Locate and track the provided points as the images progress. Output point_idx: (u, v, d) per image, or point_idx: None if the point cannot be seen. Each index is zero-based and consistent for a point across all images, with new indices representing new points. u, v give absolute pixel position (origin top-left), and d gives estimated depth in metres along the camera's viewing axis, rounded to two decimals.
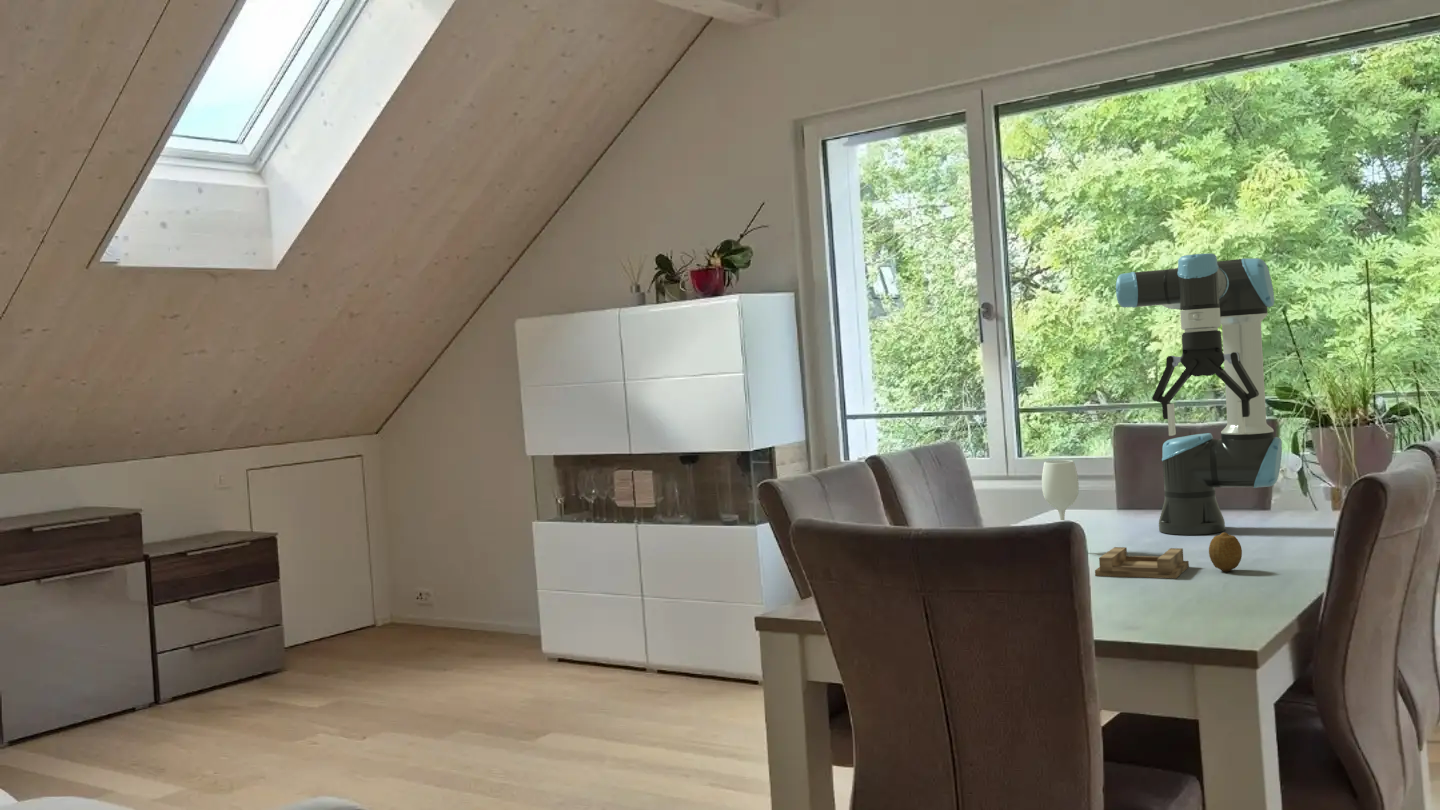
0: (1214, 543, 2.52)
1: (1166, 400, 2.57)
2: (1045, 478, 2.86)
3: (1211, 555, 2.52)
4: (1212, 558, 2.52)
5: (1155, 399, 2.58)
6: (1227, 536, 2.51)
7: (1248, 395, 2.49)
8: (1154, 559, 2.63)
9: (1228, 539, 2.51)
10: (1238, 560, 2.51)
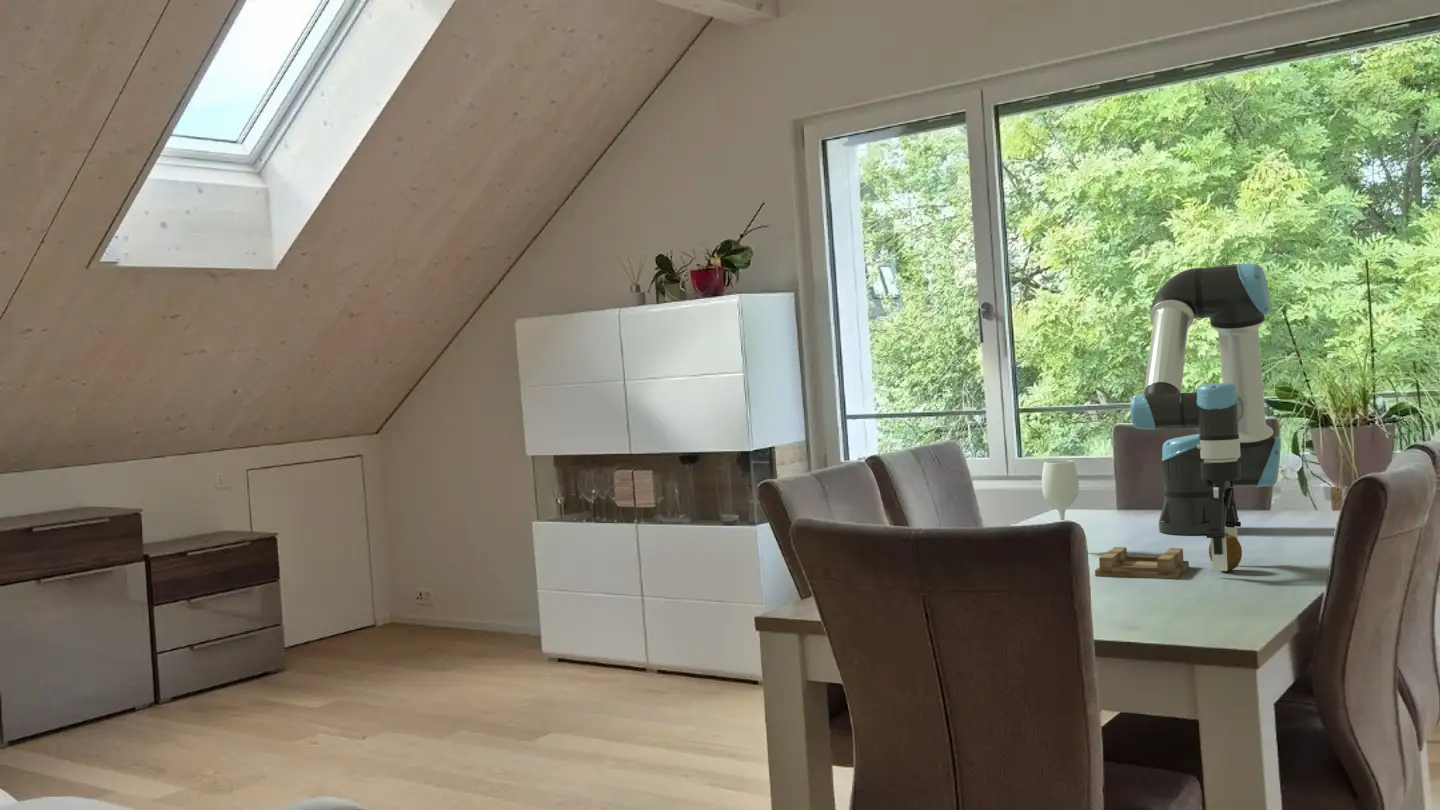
0: None
1: None
2: (1045, 478, 2.86)
3: (1211, 555, 2.52)
4: None
5: None
6: (1227, 536, 2.51)
7: None
8: (1154, 559, 2.63)
9: (1228, 539, 2.51)
10: (1238, 560, 2.51)
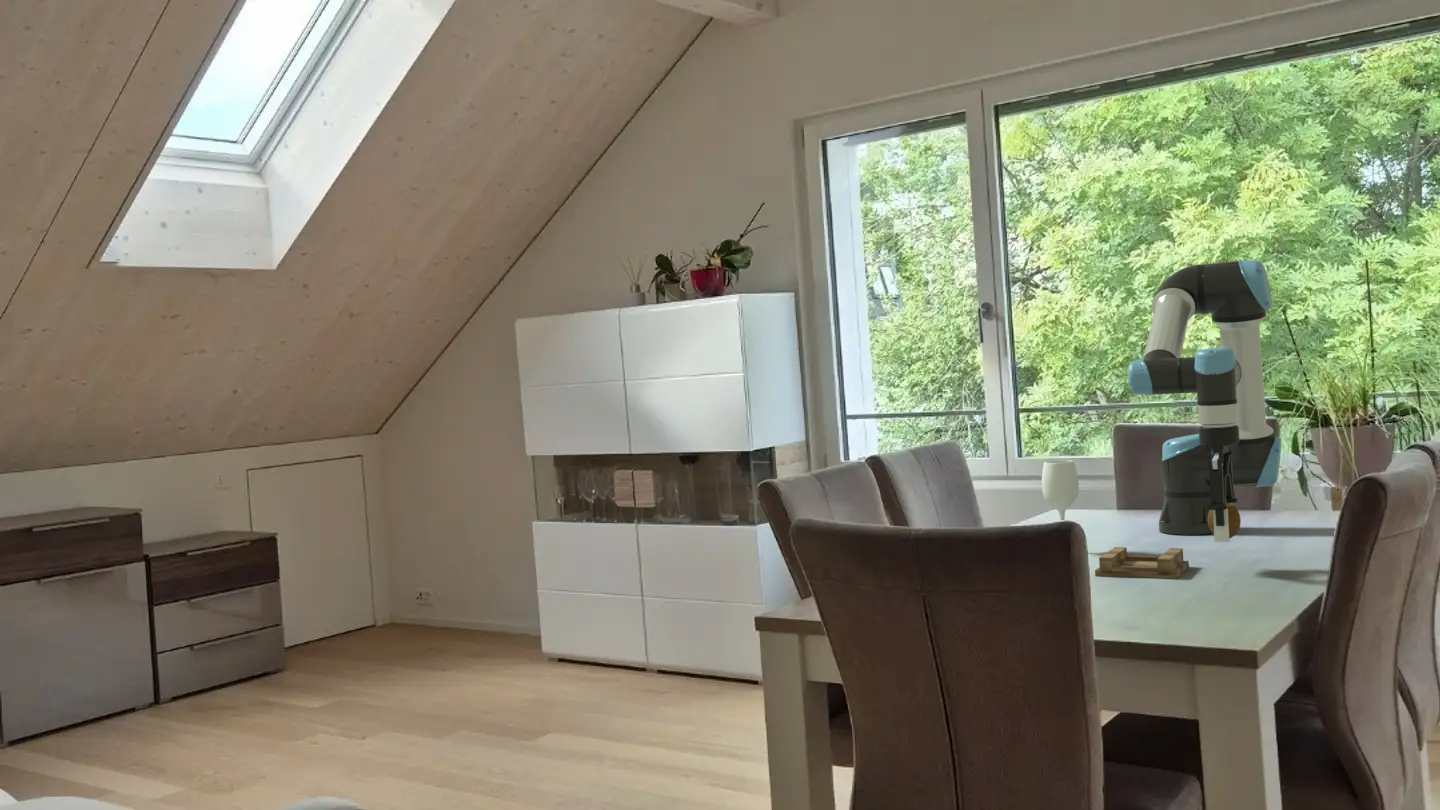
0: (1212, 512, 2.52)
1: None
2: (1045, 478, 2.86)
3: (1210, 524, 2.53)
4: (1211, 527, 2.52)
5: None
6: (1226, 504, 2.51)
7: None
8: (1154, 559, 2.63)
9: (1227, 507, 2.51)
10: (1237, 528, 2.51)
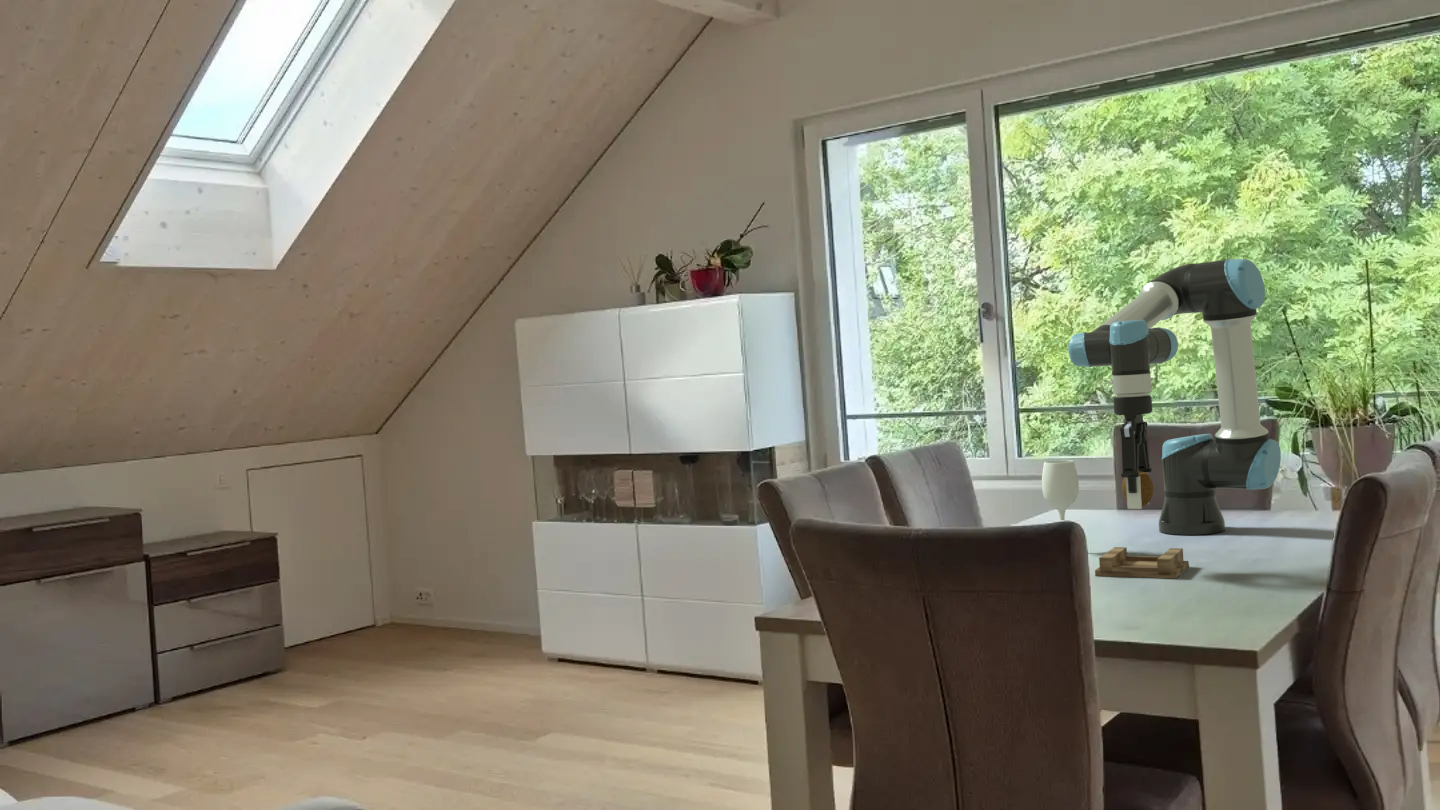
0: None
1: None
2: (1045, 478, 2.86)
3: (1124, 491, 2.58)
4: (1124, 494, 2.58)
5: None
6: (1139, 473, 2.57)
7: None
8: (1154, 559, 2.63)
9: (1139, 475, 2.56)
10: (1149, 496, 2.56)
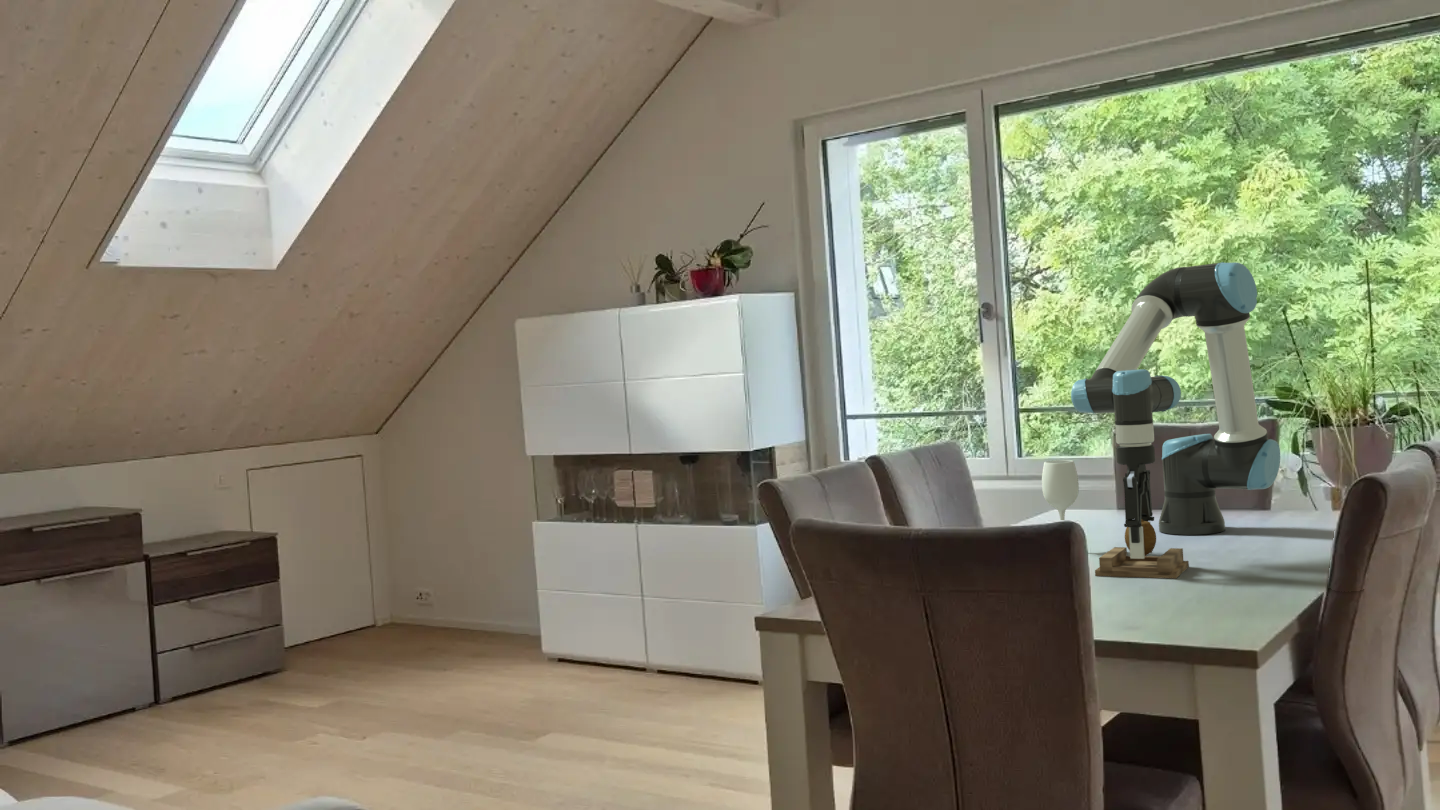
0: None
1: None
2: (1045, 478, 2.86)
3: (1126, 541, 2.58)
4: (1127, 544, 2.58)
5: None
6: (1142, 522, 2.57)
7: None
8: (1154, 559, 2.63)
9: (1142, 525, 2.57)
10: (1152, 545, 2.57)
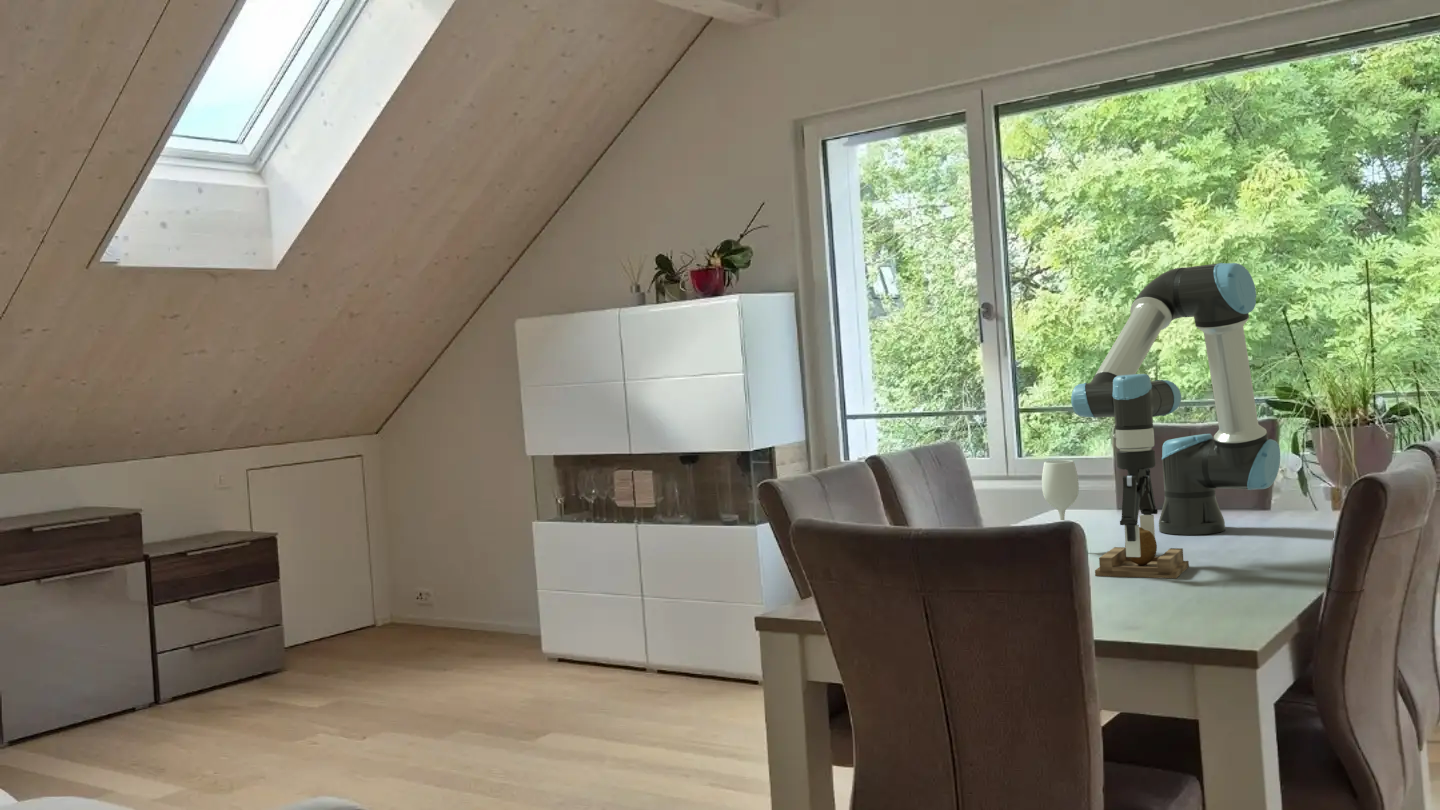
0: None
1: (1141, 510, 2.65)
2: (1045, 478, 2.86)
3: None
4: None
5: None
6: (1142, 531, 2.57)
7: None
8: (1154, 559, 2.63)
9: (1143, 534, 2.57)
10: (1153, 554, 2.57)
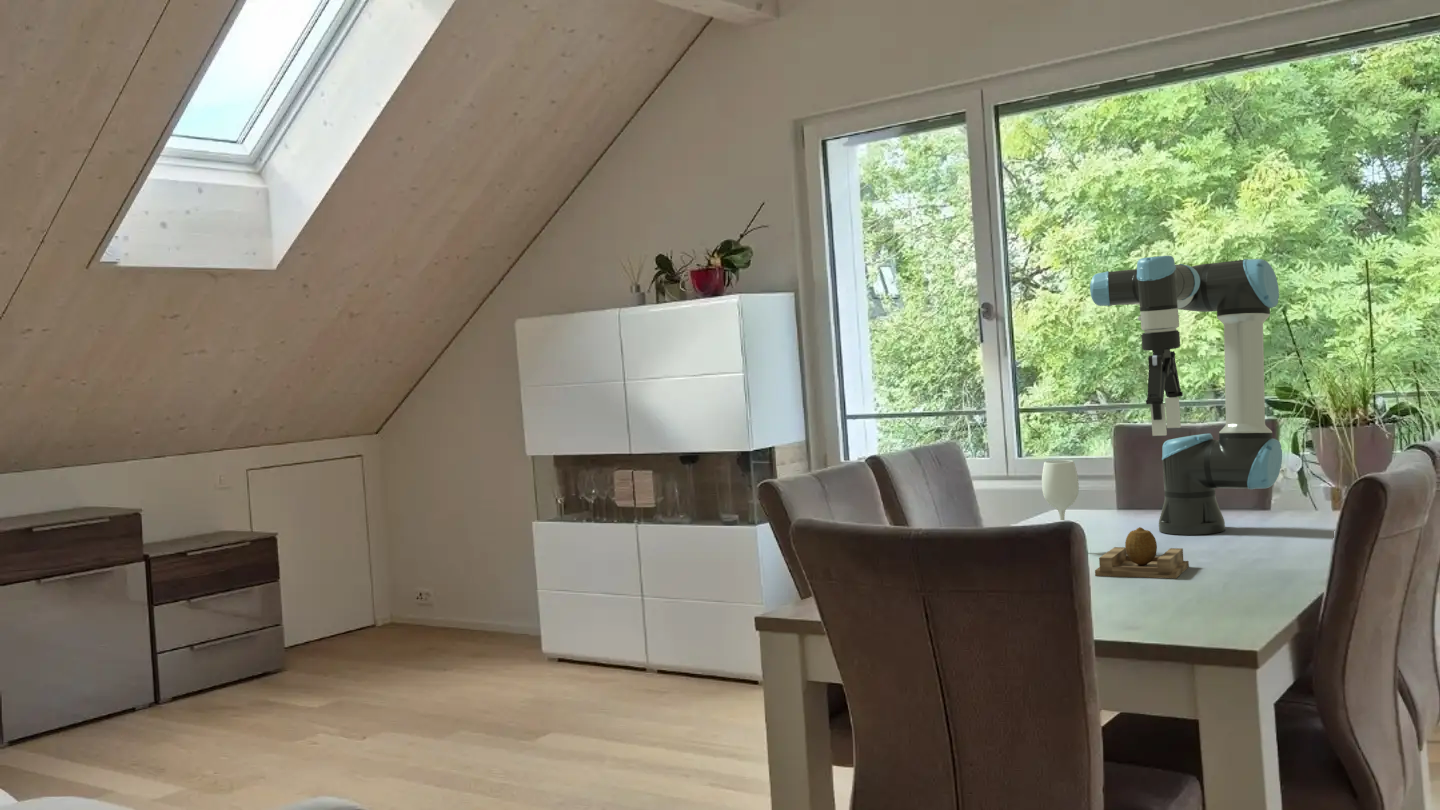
0: (1129, 538, 2.58)
1: (1166, 393, 2.68)
2: (1045, 478, 2.86)
3: (1127, 550, 2.58)
4: (1128, 553, 2.58)
5: None
6: (1142, 531, 2.57)
7: None
8: (1154, 559, 2.63)
9: (1143, 534, 2.56)
10: (1153, 554, 2.57)
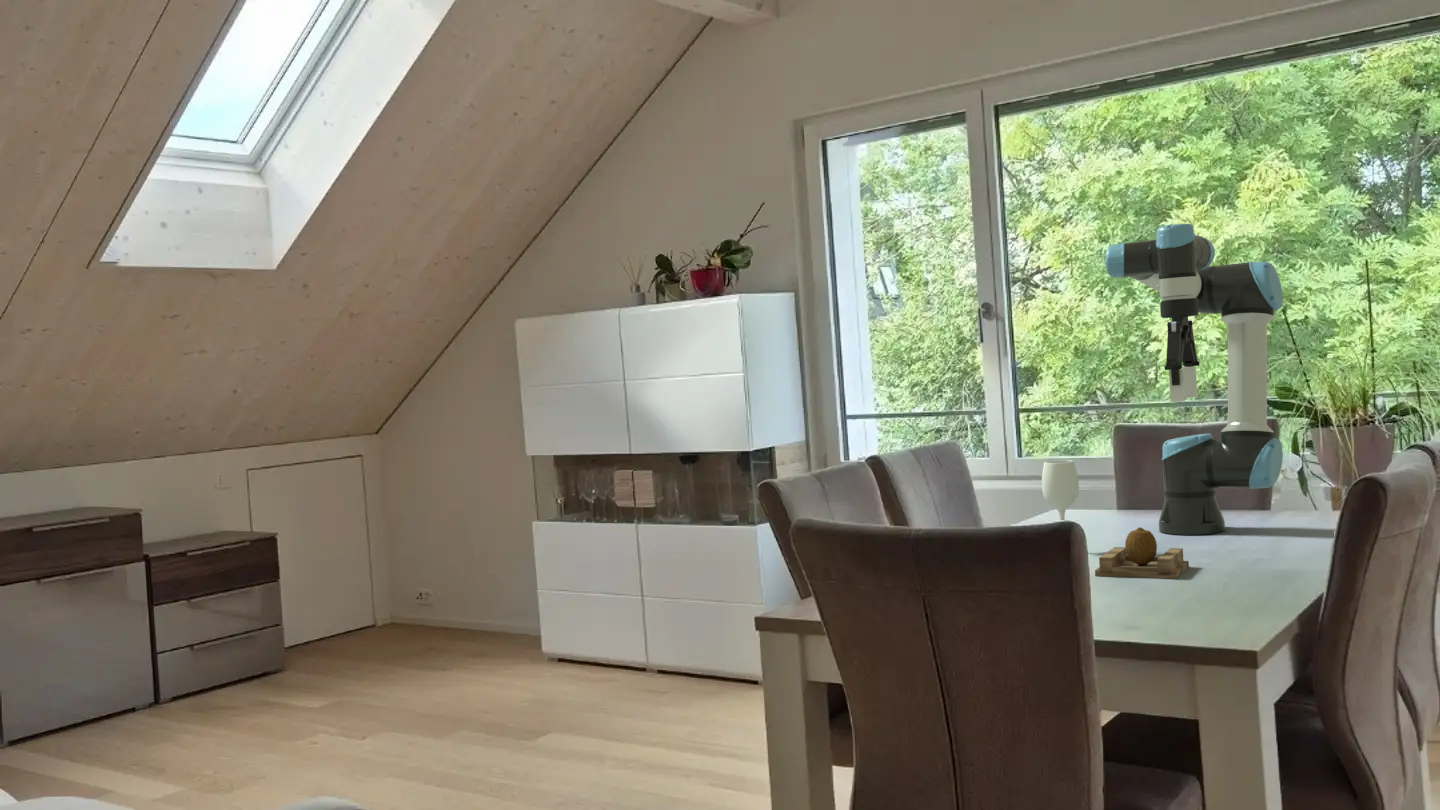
0: (1129, 538, 2.58)
1: (1183, 363, 2.70)
2: (1045, 478, 2.86)
3: (1127, 550, 2.58)
4: (1128, 553, 2.58)
5: None
6: (1142, 531, 2.57)
7: None
8: (1154, 559, 2.63)
9: (1143, 534, 2.57)
10: (1153, 554, 2.57)
